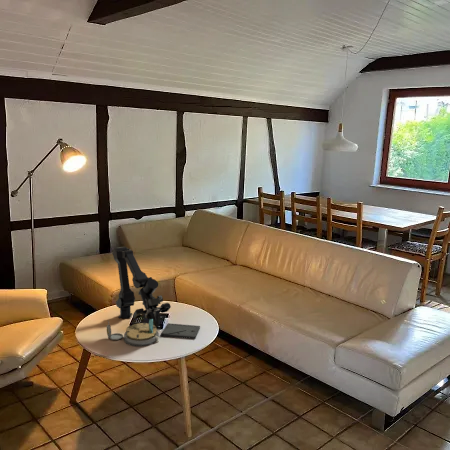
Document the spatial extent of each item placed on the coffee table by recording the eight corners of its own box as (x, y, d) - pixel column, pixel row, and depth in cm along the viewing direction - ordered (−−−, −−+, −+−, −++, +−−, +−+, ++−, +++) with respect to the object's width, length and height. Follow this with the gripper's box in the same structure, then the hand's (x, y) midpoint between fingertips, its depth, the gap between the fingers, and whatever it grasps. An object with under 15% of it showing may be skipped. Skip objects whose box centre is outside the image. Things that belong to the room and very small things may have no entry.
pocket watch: (125, 337, 227) (125, 318, 225) (113, 343, 220) (113, 324, 218) (113, 333, 231) (113, 314, 229) (101, 339, 224) (101, 320, 222)
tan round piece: (153, 326, 235) (152, 308, 233) (159, 338, 222) (159, 319, 220) (123, 330, 230) (123, 312, 228) (128, 342, 216) (128, 324, 214)
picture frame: (160, 337, 229) (195, 340, 227) (160, 333, 229) (195, 336, 227) (167, 326, 242) (200, 329, 240) (167, 322, 242) (200, 325, 239)
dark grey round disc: (128, 331, 234) (128, 326, 234) (161, 331, 234) (161, 327, 234) (120, 346, 218) (120, 341, 217) (157, 346, 218) (157, 341, 217)
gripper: (134, 294, 219) (145, 323, 212) (169, 287, 229) (179, 315, 223) (128, 304, 227) (138, 333, 220) (162, 297, 237) (172, 324, 230)
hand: (157, 326), depth 223 cm, fingers closed
